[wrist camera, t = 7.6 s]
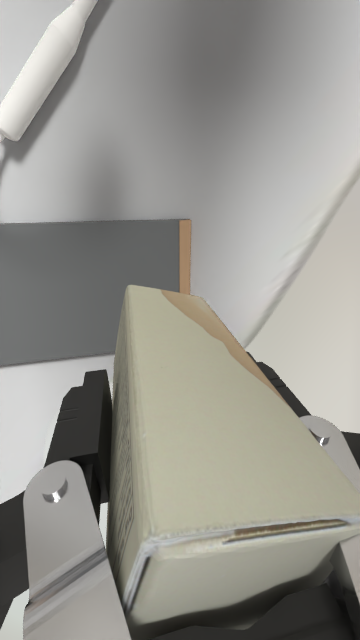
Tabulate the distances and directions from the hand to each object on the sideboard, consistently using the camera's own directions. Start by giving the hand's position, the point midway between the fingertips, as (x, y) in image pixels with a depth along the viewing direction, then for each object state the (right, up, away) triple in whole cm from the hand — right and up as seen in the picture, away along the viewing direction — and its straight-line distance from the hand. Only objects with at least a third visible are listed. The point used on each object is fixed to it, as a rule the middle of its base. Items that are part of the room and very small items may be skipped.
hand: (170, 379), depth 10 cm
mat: (-7, +4, +8) cm, 12 cm away
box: (-1, +2, +4) cm, 5 cm away
